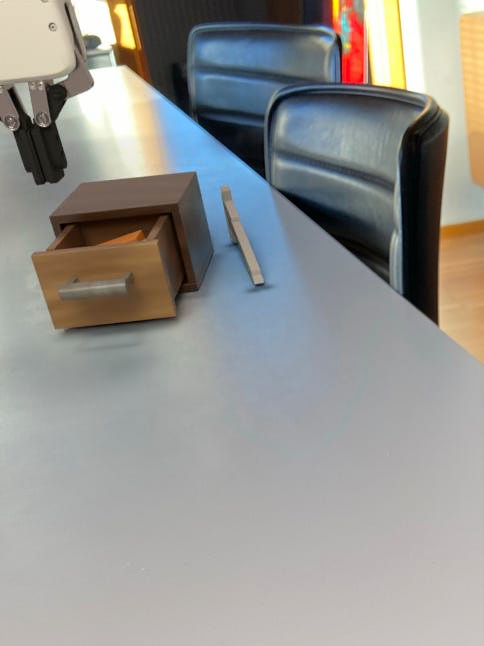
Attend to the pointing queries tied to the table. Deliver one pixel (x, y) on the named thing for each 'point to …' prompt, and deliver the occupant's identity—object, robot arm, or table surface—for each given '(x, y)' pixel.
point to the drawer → (111, 272)
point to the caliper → (240, 235)
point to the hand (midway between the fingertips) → (50, 180)
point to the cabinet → (148, 212)
